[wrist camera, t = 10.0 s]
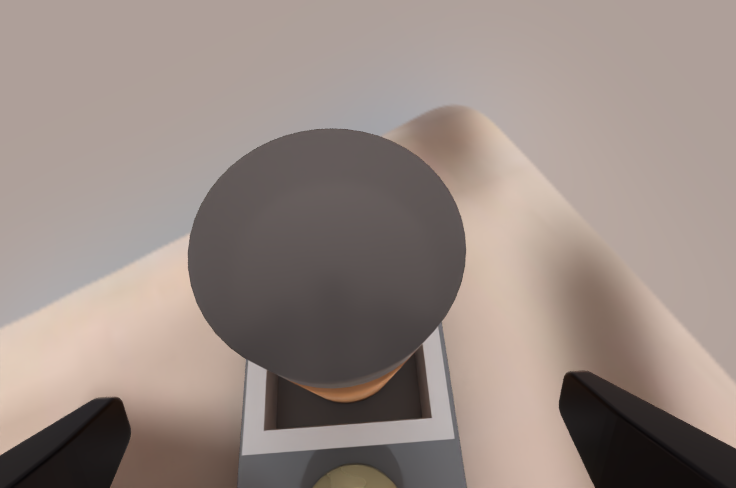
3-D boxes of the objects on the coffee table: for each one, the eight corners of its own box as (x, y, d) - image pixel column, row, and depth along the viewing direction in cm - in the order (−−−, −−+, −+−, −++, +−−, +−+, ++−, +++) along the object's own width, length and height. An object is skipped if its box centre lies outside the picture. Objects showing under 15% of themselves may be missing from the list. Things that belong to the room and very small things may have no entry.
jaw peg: (405, 394, 18) (501, 353, 6) (301, 411, 17) (178, 404, 5) (387, 295, 20) (432, 118, 8) (294, 308, 19) (194, 141, 8)
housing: (474, 585, 16) (506, 632, 12) (236, 609, 15) (202, 664, 12) (427, 260, 22) (440, 232, 19) (258, 269, 21) (239, 242, 18)
